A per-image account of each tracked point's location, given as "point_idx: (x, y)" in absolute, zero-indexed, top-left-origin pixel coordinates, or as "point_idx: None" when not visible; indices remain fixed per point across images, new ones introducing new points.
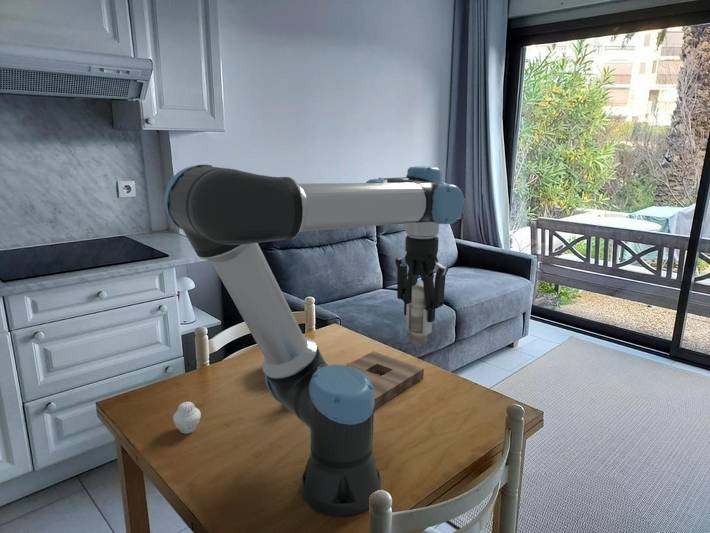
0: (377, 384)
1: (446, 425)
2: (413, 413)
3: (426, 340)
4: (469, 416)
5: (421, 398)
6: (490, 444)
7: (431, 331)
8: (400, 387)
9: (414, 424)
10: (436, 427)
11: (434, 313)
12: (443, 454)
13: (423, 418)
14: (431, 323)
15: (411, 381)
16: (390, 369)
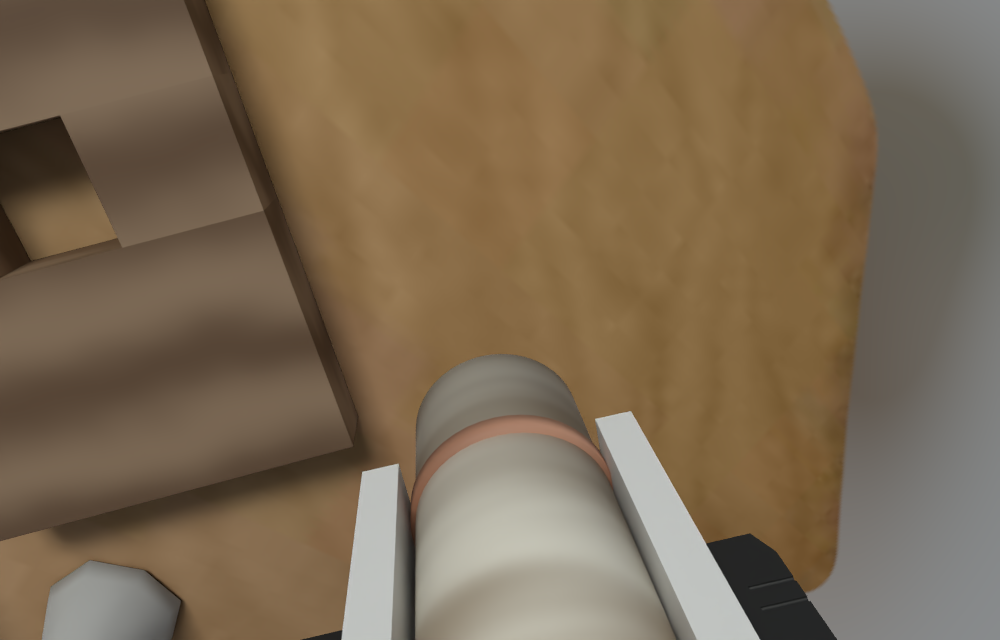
0: (210, 326)
1: (647, 208)
2: (479, 266)
3: (574, 401)
4: (671, 45)
5: (385, 126)
6: (864, 157)
7: (636, 421)
8: (267, 196)
9: (551, 322)
10: (629, 258)
11: (826, 637)
12: (766, 363)
13: (540, 256)
14: (670, 488)
15: (223, 73)
16: (41, 119)
